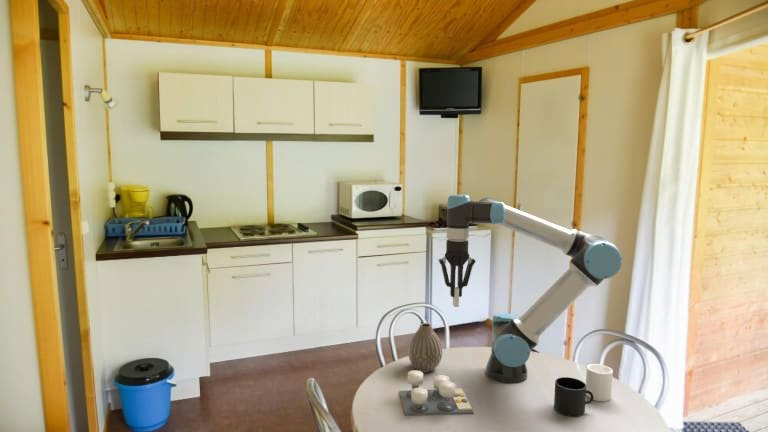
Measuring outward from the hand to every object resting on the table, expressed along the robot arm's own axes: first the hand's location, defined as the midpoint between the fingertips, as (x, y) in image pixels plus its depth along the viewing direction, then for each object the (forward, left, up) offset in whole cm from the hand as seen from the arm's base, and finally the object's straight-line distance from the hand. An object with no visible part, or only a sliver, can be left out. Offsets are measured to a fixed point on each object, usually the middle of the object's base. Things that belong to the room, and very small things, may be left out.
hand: (455, 305), depth 177 cm
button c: (+15, +8, -26) cm, 31 cm away
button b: (+6, +16, -26) cm, 32 cm away
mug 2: (-48, +9, -30) cm, 57 cm away
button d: (+15, +16, -28) cm, 36 cm away
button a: (+6, +8, -28) cm, 30 cm away
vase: (+8, -15, -30) cm, 34 cm away
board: (+9, +12, -29) cm, 33 cm away
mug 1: (-35, +20, -30) cm, 50 cm away
